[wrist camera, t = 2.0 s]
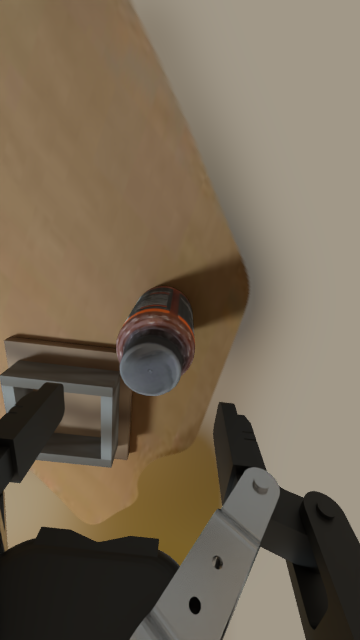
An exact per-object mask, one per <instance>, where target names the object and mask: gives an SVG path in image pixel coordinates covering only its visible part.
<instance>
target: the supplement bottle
mask: <svg viewBox="0 0 360 640" xmlns="http://www.w3.org/2000/svg"><path fill="white" fill-rule="evenodd" d="M116 351H117V357H118V360H119V362H120V374H121V377H122V379H123V381H124V383H125V384H126V385H127V386H128V387H129V388H130V389H132V390H133V391H135V392H137V393H139V394H142V395H146V396H158V395H162V394H164V393H167V392H169V391H170V390H172V389H173V388H174V387H175V386H176V385H177V383H178V382H179V380H180V377H181V376H182V375H183V374H184V373H185V372H186V371H187V370H188V368H189V367H190V365H191V363H192V361H193V358H194V352H195V340H194V326H193V315H192V308H191V305H190V303H189V301H188V299H187V298H186V296H185V295H184V294H183V293H181V292H180V291H178V290H177V289H175V288H172V287H168V286H159V287H155V288H152V289H150V290H148V291H147V292H145V293H144V294H143V295H142V296H141V297H140V299H139V300H138V302H137V303H136V305H135V307H134V308H133V310H132V312H131V313H130V315H129V316H128V318H127V320H126V322H125V323H124V325H123V327H122V328H121V330H120V332H119V335H118V338H117V342H116Z"/></svg>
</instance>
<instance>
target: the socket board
mask: <svg viewBox="0 0 360 640" xmlns="http://www.w3.org/2000/svg"><path fill="white" fill-rule="evenodd" d="M4 343H5V349H6V356H7V362H8V369H7V370H6V371H5V372H3V373H2V374H1V375H0V381H1V387H2V392H3V398H4V403H5V409H6V413H8V411H9V410H10V409H11V408H12V407H14V405H15V404H16V403H17V402H18V401H19V400H20V399H21V398H22V397H23V396H25V395H27V394H29V393H30V392H32V391H38V390H39V389H40V388H41V387H42V385H43V384H44V383H46V382H51V383H60V384H63V386H64V401H65V412H64V416H63V418H62V420H61V422H60V424H59V425H58V427H57V428H56V430H55V431H54V433H53V434H52V436H51V437H50V439H49V440H48V442H47V443H46V445H45V446H44V448H43V449H42V451H41V452H40V454H39V455H38V457H37V458H36V460H42V461H52V462H62V463H71V464H81V465H91V466H101V467H110V468H111V467H112V464H113V460H114V459H122V460H127V459H128V455H129V442H130V423H131V403H132V389H130V388H129V387H128V386H127V385H126V384H125V383H124V381H123V379H122V377H121V374H120V362H119V360H118V357H117V351H116V348H107V347H98V346H89V345H80V344H71V343H62V342H53V341H44V340H35V339H26V338H18V337H9V338H7V339H6V340H4Z"/></svg>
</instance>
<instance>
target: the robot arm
mask: <svg viewBox="0 0 360 640" xmlns="http://www.w3.org/2000/svg"><path fill="white" fill-rule="evenodd" d="M64 412H65V401H64V386H63V384H60V383H51V382H46V383H44V384H43V385H42V387H41V388H40V389H39V390H38V391H32V392H30V393H29V394H27V395H25V396H23V397H22V398H21V399H20V400H19V401H18V402H17V403H16V404H15V405H14V407H12V408H11V409H10V410H9V411H8V413H6V414H5V415H4V416H3V417H2V418H1V419H0V640H223V638H224V635H225V633H226V630H227V628H228V625H229V623H230V620H231V618H232V616H233V613H234V610H235V608H236V605H237V603H238V600H239V598H240V595H241V593H242V590H243V587H244V585H245V583H246V580H247V578H248V576H249V573H250V571H251V568H252V566H253V563H254V561H255V558H256V556H257V554H258V551H259V549H260V547H262V548H264V549H266V550H269V551H270V552H272V553H274V554H276V555H278V556H280V557H282V558H284V559H286V563H287V567H288V571H289V575H290V579H291V582H292V587H293V590H294V594H295V598H296V602H297V606H298V610H299V614H300V618H301V622H302V626H303V630H304V633H305V638H306V640H360V543H359V541H358V539H357V537H356V536H355V534H354V532H353V530H352V528H351V526H350V524H349V522H348V520H347V518H346V516H345V514H344V512H343V511H342V509H341V508H340V507H339V505H338V504H337V503H336V502H335V501H333V500H332V499H331V498H330V497H328V496H327V495H324V494H322V493H320V492H315V491H312V492H308V493H307V494H306V495H305V496H304V498H303V497H301V496H298V495H296V494H293V493H291V492H289V491H286V490H284V489H283V488H281V487H280V486H279V485H278V483H277V481H276V480H275V478H274V477H273V476H272V475H271V474H269V473H268V472H267V471H266V468H265V465H264V462H263V459H262V456H261V453H260V450H259V447H258V444H257V442H256V438H255V435H254V432H253V429H252V426H251V423H250V422H249V421H248V420H247V418H246V417H245V416H244V415H237V411H236V408H235V405H234V404H232V403H223V402H219V405H218V409H217V414H216V418H215V423H214V430H213V431H214V432H213V437H214V446H215V454H216V461H217V468H218V477H219V484H220V492H221V500H222V506H223V507H222V508H221V509H217V510H216V511H215V513H214V514H213V516H212V517H211V519H210V520H209V522H208V524H207V525H206V527H205V528H204V530H203V531H202V533H201V535H200V536H199V538H198V539H197V541H196V542H195V544H194V545H193V547H192V549H191V550H190V552H189V553H188V555H187V556H186V558H185V560H184V561H183V563H182V564H181V566H179V565H178V564H177V562H175V561H174V560H173V559H172V558H171V557H170V556H168V555H167V554H165V553H164V552H162V551H160V550H158V544H159V539H153V538H144V537H135V536H128V537H124V538H118V539H113V540H108V541H103V542H96V541H93V540H91V539H89V538H87V537H85V536H82V535H81V534H78V533H76V532H74V531H72V530H68V529H57V528H49V527H41V529H40V531H39V533H38V535H37V537H36V538H35V539H31V540H28V541H25V542H22V543H20V544H18V545H15V546H14V547H12V548H10V549H8V543H7V530H6V511H5V493H4V489H5V488H6V486H7V485H8V483H9V482H14V483H21V481H22V480H23V478H24V477H25V475H26V474H27V472H28V471H29V469H30V468H31V466H32V464H33V463H34V461H35V460H36V458H37V457H38V455H39V454H40V452H41V451H42V449H43V448H44V446H45V445H46V443H47V442H48V440H49V439H50V437H51V436H52V434H53V433H54V431H55V430H56V428H57V427H58V425H59V424H60V422H61V420H62V418H63V416H64Z"/></svg>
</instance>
